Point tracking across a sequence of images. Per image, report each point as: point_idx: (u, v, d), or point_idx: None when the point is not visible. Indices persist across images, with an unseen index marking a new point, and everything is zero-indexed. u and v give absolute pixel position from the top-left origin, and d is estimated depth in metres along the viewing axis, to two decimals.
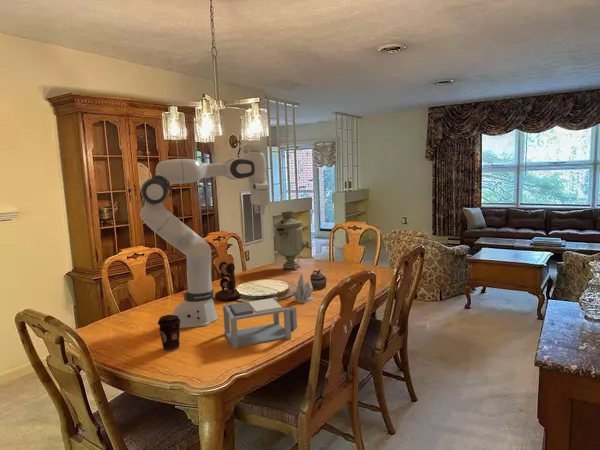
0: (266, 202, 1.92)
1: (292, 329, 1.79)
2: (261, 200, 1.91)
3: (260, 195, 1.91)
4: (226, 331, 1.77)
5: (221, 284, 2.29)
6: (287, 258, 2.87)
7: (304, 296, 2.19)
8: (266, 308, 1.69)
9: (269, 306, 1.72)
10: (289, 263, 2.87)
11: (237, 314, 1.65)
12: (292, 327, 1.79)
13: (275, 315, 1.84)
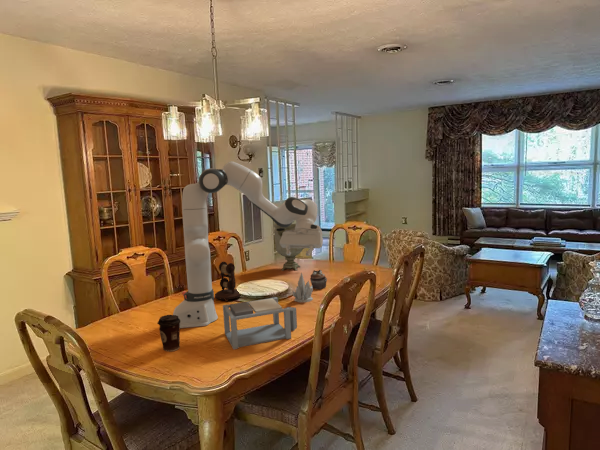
0: (321, 245, 1.89)
1: (292, 329, 1.79)
2: (320, 240, 1.88)
3: (320, 235, 1.89)
4: (226, 331, 1.77)
5: (221, 284, 2.29)
6: (287, 258, 2.87)
7: (304, 296, 2.19)
8: (266, 308, 1.69)
9: (269, 306, 1.72)
10: (289, 263, 2.87)
11: (237, 314, 1.65)
12: (292, 327, 1.79)
13: (275, 315, 1.84)
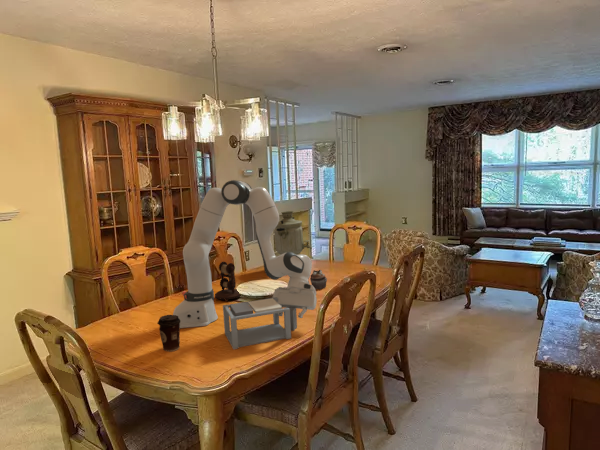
0: (315, 306, 1.80)
1: (292, 329, 1.79)
2: (314, 301, 1.79)
3: (314, 296, 1.80)
4: (226, 331, 1.77)
5: (221, 284, 2.29)
6: None
7: None
8: (266, 308, 1.69)
9: (269, 306, 1.72)
10: None
11: (237, 314, 1.65)
12: (292, 327, 1.79)
13: (275, 315, 1.84)
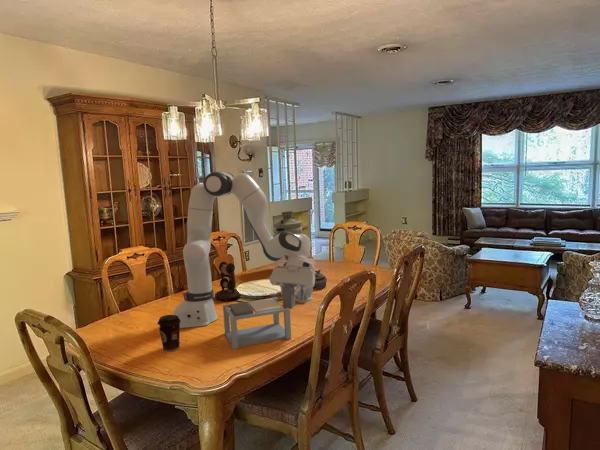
0: (313, 284, 1.79)
1: (290, 307, 1.77)
2: (312, 280, 1.78)
3: (313, 275, 1.79)
4: (226, 331, 1.77)
5: (221, 284, 2.29)
6: (287, 258, 2.87)
7: (304, 296, 2.19)
8: (266, 308, 1.69)
9: (269, 306, 1.72)
10: None
11: (237, 314, 1.65)
12: (290, 305, 1.77)
13: (275, 315, 1.84)
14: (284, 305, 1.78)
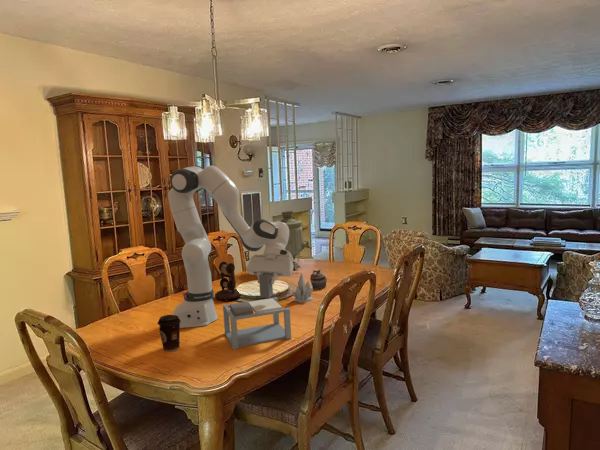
0: (291, 272, 1.74)
1: (267, 296, 1.72)
2: (290, 267, 1.73)
3: (290, 262, 1.74)
4: (226, 331, 1.77)
5: (221, 284, 2.29)
6: None
7: (304, 296, 2.19)
8: (266, 308, 1.69)
9: (269, 306, 1.72)
10: None
11: (237, 314, 1.65)
12: (267, 294, 1.72)
13: (275, 315, 1.84)
14: (261, 294, 1.73)
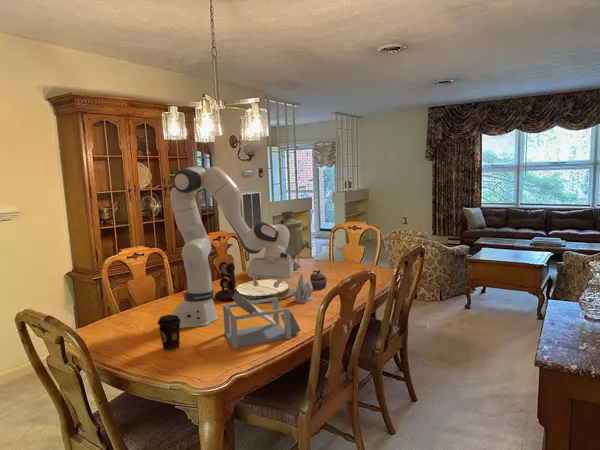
0: (291, 276, 1.74)
1: None
2: (290, 271, 1.73)
3: (290, 265, 1.74)
4: (226, 331, 1.77)
5: (221, 284, 2.29)
6: None
7: (304, 296, 2.19)
8: (265, 316, 1.70)
9: (267, 317, 1.72)
10: None
11: (242, 302, 1.65)
12: None
13: (275, 315, 1.84)
14: (291, 316, 1.72)
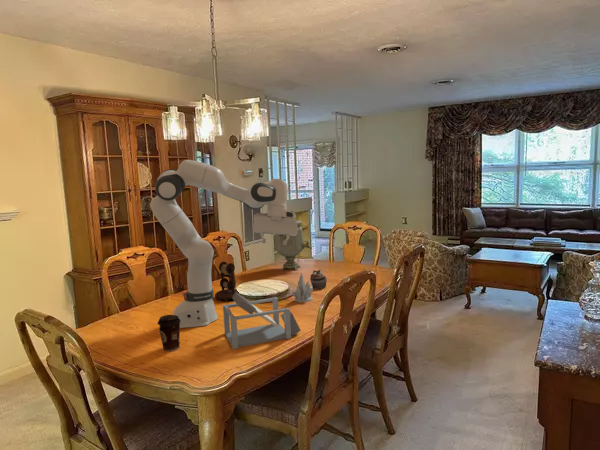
0: None
1: None
2: None
3: None
4: (226, 331, 1.77)
5: (221, 284, 2.29)
6: (287, 258, 2.87)
7: (304, 296, 2.19)
8: (265, 316, 1.70)
9: (267, 317, 1.72)
10: (289, 263, 2.87)
11: (242, 302, 1.65)
12: None
13: (275, 315, 1.84)
14: (291, 316, 1.72)
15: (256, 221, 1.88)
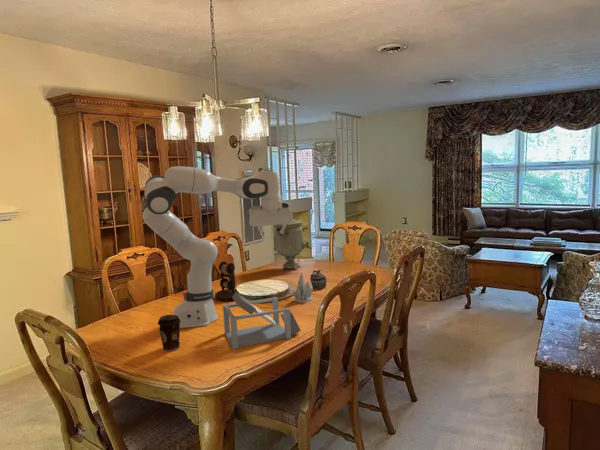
0: None
1: None
2: None
3: None
4: (226, 331, 1.77)
5: (221, 284, 2.29)
6: (287, 258, 2.87)
7: (304, 296, 2.19)
8: (265, 316, 1.70)
9: (267, 317, 1.72)
10: (289, 263, 2.87)
11: (242, 302, 1.65)
12: None
13: (275, 315, 1.84)
14: (291, 316, 1.72)
15: (253, 216, 1.86)
